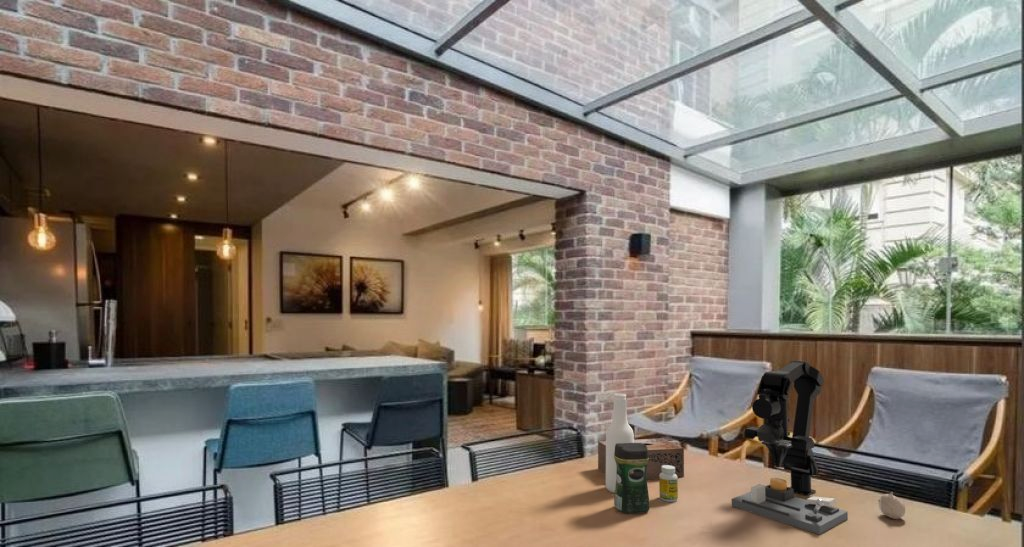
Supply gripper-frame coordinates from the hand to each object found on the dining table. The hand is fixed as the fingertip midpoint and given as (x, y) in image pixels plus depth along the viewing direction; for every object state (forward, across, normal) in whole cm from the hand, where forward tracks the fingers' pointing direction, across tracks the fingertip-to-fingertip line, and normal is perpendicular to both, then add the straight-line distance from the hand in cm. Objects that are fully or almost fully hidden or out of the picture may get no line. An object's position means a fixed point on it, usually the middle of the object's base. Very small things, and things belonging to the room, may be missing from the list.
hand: (778, 467), depth 155 cm
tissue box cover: (+11, -43, -11) cm, 46 cm away
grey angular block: (+9, -1, -10) cm, 13 cm away
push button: (+7, 0, 0) cm, 7 cm away
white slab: (+7, +12, 0) cm, 14 cm away
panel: (+11, +5, -5) cm, 13 cm away
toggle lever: (+7, +14, -10) cm, 19 cm away
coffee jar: (+11, -22, -41) cm, 48 cm away
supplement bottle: (+11, -21, -25) cm, 34 cm away
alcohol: (+11, -35, -31) cm, 48 cm away
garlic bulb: (+11, +24, +16) cm, 31 cm away
